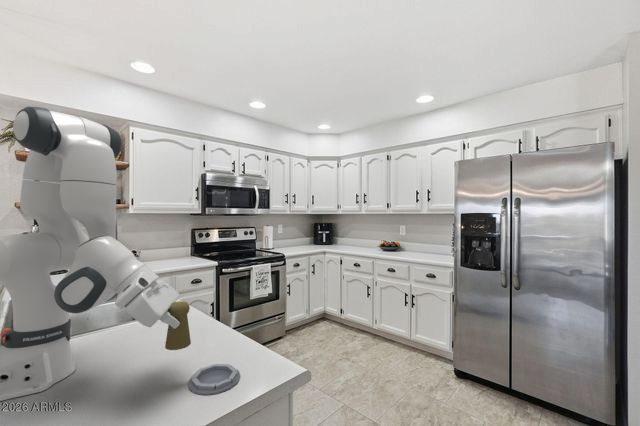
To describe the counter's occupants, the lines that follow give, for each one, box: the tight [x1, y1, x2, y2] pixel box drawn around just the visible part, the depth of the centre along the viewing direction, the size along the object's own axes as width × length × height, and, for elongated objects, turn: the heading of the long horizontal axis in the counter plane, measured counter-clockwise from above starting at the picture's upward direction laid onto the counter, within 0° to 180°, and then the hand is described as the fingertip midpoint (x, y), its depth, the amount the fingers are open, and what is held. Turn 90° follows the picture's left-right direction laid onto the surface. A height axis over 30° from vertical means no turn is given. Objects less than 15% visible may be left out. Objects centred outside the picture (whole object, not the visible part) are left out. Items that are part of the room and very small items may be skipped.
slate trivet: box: [187, 363, 241, 396], centre depth 79 cm, size 13×13×2 cm
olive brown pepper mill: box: [164, 301, 192, 351], centre depth 77 cm, size 6×6×11 cm
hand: (180, 321), depth 77 cm, fingers closed on olive brown pepper mill, 4 cm apart
